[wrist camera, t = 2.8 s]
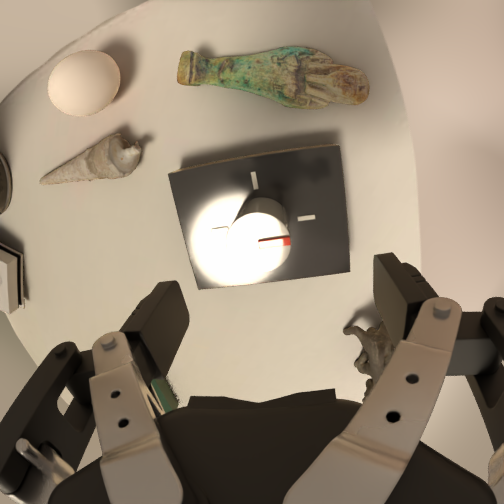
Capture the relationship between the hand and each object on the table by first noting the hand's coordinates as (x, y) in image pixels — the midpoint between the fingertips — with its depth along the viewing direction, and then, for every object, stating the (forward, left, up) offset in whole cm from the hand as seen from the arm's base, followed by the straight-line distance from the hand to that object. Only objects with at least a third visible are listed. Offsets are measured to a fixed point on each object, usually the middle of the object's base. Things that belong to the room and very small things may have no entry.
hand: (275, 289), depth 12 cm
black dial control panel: (-2, -1, -16) cm, 16 cm away
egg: (-15, +15, -16) cm, 26 cm away
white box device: (-42, +4, -13) cm, 44 cm away
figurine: (+1, +11, -16) cm, 19 cm away
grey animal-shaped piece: (+8, -19, -16) cm, 26 cm away
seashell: (-19, +7, -16) cm, 26 cm away
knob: (-1, -1, -13) cm, 13 cm away
